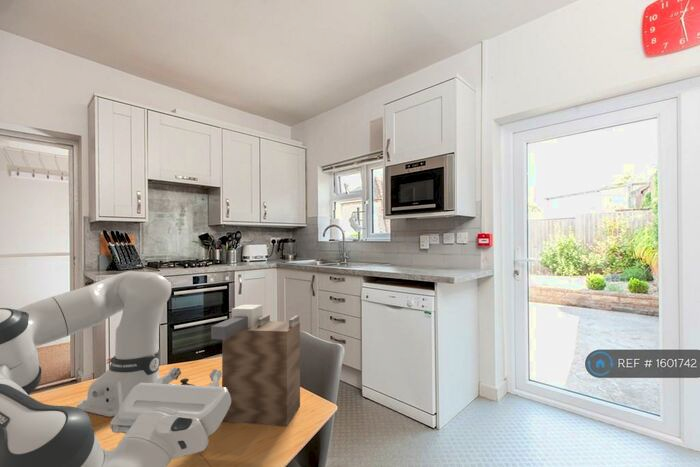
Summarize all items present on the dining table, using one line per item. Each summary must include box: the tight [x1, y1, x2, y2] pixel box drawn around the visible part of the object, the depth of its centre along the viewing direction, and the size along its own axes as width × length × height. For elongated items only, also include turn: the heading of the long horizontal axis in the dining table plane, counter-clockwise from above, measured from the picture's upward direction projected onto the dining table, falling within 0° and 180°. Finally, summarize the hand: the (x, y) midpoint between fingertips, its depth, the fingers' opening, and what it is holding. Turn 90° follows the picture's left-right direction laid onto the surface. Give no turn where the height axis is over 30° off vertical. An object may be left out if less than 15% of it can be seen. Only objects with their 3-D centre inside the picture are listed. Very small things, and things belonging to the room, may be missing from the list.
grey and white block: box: [210, 304, 264, 340], centre depth 88 cm, size 6×19×5 cm, turn 171°
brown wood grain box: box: [221, 314, 301, 427], centre depth 92 cm, size 18×11×26 cm, turn 81°
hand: (197, 370), depth 70 cm, fingers open, 8 cm apart
